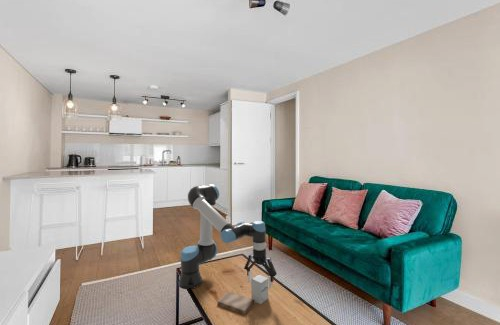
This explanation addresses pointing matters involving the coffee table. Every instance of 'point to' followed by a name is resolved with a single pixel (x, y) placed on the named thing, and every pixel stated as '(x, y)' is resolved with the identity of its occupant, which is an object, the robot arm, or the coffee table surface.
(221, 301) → the walnut board
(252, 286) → the supplement box
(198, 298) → the coffee table surface
